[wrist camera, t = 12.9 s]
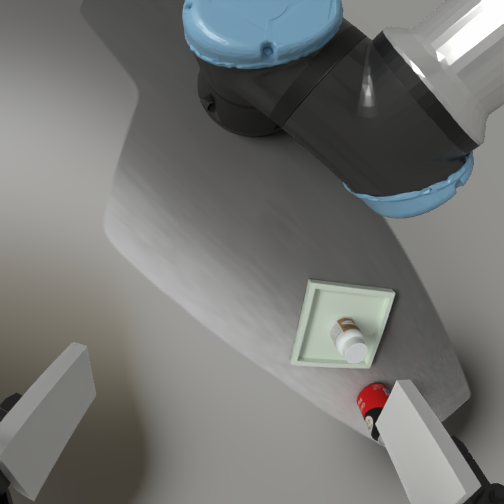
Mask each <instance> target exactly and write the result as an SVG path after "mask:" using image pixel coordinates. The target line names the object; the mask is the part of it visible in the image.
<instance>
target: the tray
mask: <svg viewBox="0 0 504 504" xmlns="http://www.w3.org/2000/svg"><path fill="white" fill-rule="evenodd" d="M394 296H395V292H394V291H393V290H391V289H387V288H379V287H371V286H363V285H355V284H347V283H339V282H331V281H323V280H316V279H308V284H307V288H306V293H305V297H304V302H303V306H302V311H301V315H300V319H299V323H298V327H297V332H296V336H295V340H294V344H293V348H292V352H291V356H290V362H291V365H299V366H315V367H334V368H370V366H371V364H372V361H373V358H374V356H375V353H376V350H377V348H378V345H379V342H380V339H381V337H382V334H383V331H384V328H385V325H386V322H387V319H388V316H389V313H390V309H391V306H392V303H393V300H394ZM339 317H349V318H351V319H352V320H353V321H354V322H355V323H356V325H357V326H358V328H359V329H360V330H361V332H362V333H363V335H364V337H365V344H366V345H367V347H368V354H367V356H366V358H365V359H364V360H363V361H361V362H359V363H356V364H352V363H349V362H347V361H346V359H345V357H344V356H342V355H341V354H339V352H338V351H337V349H336V347H335V345H334V343H333V341H332V339H331V337H330V334H329V328H330V325H331V324H332V322H333V321H334V320H335V319H337V318H339Z"/></svg>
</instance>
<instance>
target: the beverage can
mask: <svg viewBox="0 0 504 504" xmlns="http://www.w3.org/2000/svg"><path fill="white" fill-rule="evenodd" d="M389 396H390V392H389V391H388V389H387V387H386V386H385V385H383V384H380V383H376V384H371V385H369V386H367V387H365V388H364V389H363V390H362V391H361V392H360V393H359V395H358V398H357V404H358V406H359V409H360V411H361V413H362V415H363V418H364V420H365V422H366V424H367V427H368V429H369V431H370V433H371V436H372V438H373V439H374V440H376V441H378V442H379V444H381V445H385V444H384V442H383V440H382V437H381V435H380V433H379V431H378V429H377V427H376V424H375V423H376V422H377V420H378V418H379V416H380V414H381V412H382V410H383V408H384V406H385V404H386V402H387V400H388V398H389Z"/></svg>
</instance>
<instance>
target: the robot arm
mask: <svg viewBox="0 0 504 504" xmlns="http://www.w3.org/2000/svg"><path fill="white" fill-rule="evenodd" d="M183 24H184V29H185V38H186V41H187V43H188V46H190V48H191V50H192V51H193V52H194V55H195V57H196V59H197V61H198V63H199V65H200V71H199V75H198V94H199V98H200V101H201V103H202V105H203V107H204V109H205V110H206V112H207V113H208V115H209V116H210V117H211V118H212V120H213V121H215V122H216V123H217V124H218V125H219V126H221V127H222V128H224V129H226V130H228V131H230V132H232V133H235V134H238V135H243V136H252V137H257V136H266V135H270V134H274V133H276V132H279V131H281V130H284V131H286V132H287V133H288V134H289V135H290V136H292V137H293V138H294V139H295V140H296V141H298V142H299V143H300V144H301V145H302V146H304V147H305V148H306V149H307V150H308V151H309V152H311V153H312V154H313V155H314V156H315V157H316V158H317V159H319V160H320V161H321V162H322V163H323V164H324V165H325V166H326V167H328V168H329V169H330V170H331V171H332V172H333V173H334V174H335V175H336V176H337V177H338V178H339V179H341V180H342V181H343V184H344V186H345V187H346V189H347V190H348V191H349V192H350V193H352V194H354V195H355V196H357V197H359V198H360V199H361V200H363V201H364V202H365V203H366V204H367V205H368V206H369V207H370V208H371V209H372V210H374V211H375V212H377V213H379V214H381V215H383V216H386V217H390V218H409V217H414V216H418V215H421V214H424V213H426V212H429V211H431V210H433V209H435V208H437V207H439V206H440V205H442V204H443V203H445V202H446V201H448V200H449V199H450V198H452V197H453V196H454V195H455V194H456V189H455V188H457V187H459V186H463V185H464V184H465V183H466V181H467V180H468V178H469V177H470V175H471V172H472V169H473V165H474V159H473V152H472V150H473V149H475V148H477V147H478V146H480V145H481V144H483V142H484V137H485V128H486V121H487V118H488V116H489V114H491V113H492V112H494V111H495V110H496V109H498V108H499V107H501V106H502V105H503V104H504V0H445V1H444V2H443V3H442V4H441V5H440V6H439V7H438V8H436V9H435V10H434V11H433V12H432V13H431V14H430V15H429V16H427V17H426V18H425V19H424V20H423V21H422V22H421V23H420V24H418V26H416V27H413V28H398V27H397V28H396V27H386V28H384V29H383V30H382V31H381V32H380V34H378V35H377V36H376V37H375V38H374V40H371V39H370V38H368V37H367V36H366V35H364V34H363V33H362V32H361V31H360V30H358V29H357V28H356V27H355V26H353V25H352V24H351V23H350V22H348V21H347V20H346V19H344V18H343V8H342V2H341V0H185V3H184V6H183ZM95 396H96V391H95V386H94V381H93V376H92V370H91V365H90V359H89V352H88V346H85V345H81V344H78V343H75V342H72V343H71V344H70V345H69V346H68V347H67V349H66V350H65V351H64V352H63V353H62V354H61V355H60V356H59V357H58V358H57V359H56V360H55V361H54V362H53V363H52V364H51V365H50V366H49V368H48V369H47V370H46V371H45V372H44V373H43V374H42V375H41V376H40V377H39V378H38V380H37V381H36V382H35V383H34V384H33V385H32V386H31V387H30V388H29V390H28V391H27V392H26V393H25V394H24V395H23V396H22V395H20V394H18V393H15V394H14V395H11V396H10V397H8V398H6V399H5V400H4V401H3V402H2V403H1V405H0V504H13V501H12V498H11V493H10V491H9V489H8V487H9V485H10V483H11V484H12V486H13V487H14V488H15V489H16V490H17V491H18V492H19V493H21V494H23V495H24V496H26V497H28V498H29V499H31V500H33V501H34V500H35V498H36V497H37V495H38V493H39V491H40V489H41V487H42V485H43V484H44V482H45V480H46V478H47V476H48V474H49V473H50V471H51V469H52V467H53V466H54V464H55V462H56V460H57V459H58V457H59V455H60V454H61V452H62V450H63V448H64V447H65V445H66V443H67V442H68V440H69V438H70V437H71V435H72V433H73V432H74V430H75V428H76V427H77V425H78V423H79V422H80V420H81V418H82V417H83V415H84V414H85V412H86V410H87V409H88V407H89V405H90V404H91V402H92V401H93V399H94V398H95ZM375 424H376V427H377V429H378V431H379V433H380V435H381V437H382V440H383V442H384V444H385V446H386V448H387V450H388V453H389V455H390V457H391V459H392V462H393V464H394V466H395V468H396V471H397V473H398V475H399V477H400V480H401V482H402V484H403V487H404V489H405V491H406V494H407V496H408V498H409V501H410V503H411V504H504V486H503V485H501V484H498V483H494V484H490V483H489V481H488V480H487V479H486V477H485V475H484V474H483V472H482V471H481V469H480V468H479V466H478V465H477V463H476V462H475V460H474V459H473V457H472V456H471V454H470V453H468V450H467V448H466V447H465V445H464V444H463V443H462V442H461V441H460V440H459V439H457V438H456V437H455V436H452V437H450V436H449V434H448V433H447V431H446V430H445V428H444V427H443V426H442V424H441V422H440V421H439V420H438V418H437V417H436V415H435V414H434V412H433V411H432V409H431V408H430V407H429V405H428V404H427V402H426V401H425V399H424V398H423V397H422V395H421V394H420V392H419V391H418V390H417V388H416V387H415V385H414V384H413V383H412V381H411V380H397V381H396V383H395V385H394V387H393V389H392V392H391V394H390V396H389V398H388V400H387V402H386V404H385V406H384V408H383V410H382V412H381V414H380V416H379V418H378V420H377V422H376V423H375Z"/></svg>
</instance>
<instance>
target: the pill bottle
mask: <svg viewBox="0 0 504 504" xmlns="http://www.w3.org/2000/svg"><path fill="white" fill-rule="evenodd" d="M329 334H330V337H331V339H332V341H333V343H334V345H335V347H336V349H337V351H338V352H339V354H341V355H342V356H344V357H345V359H346V361H347V362H349V363H352V364H356V363H359V362H361V361H363V360H364V359H365V358H366V356H367V354H368V347H367V345H366V344H365V337H364V335H363V333H362V332H361V330H360V329H359V328H358V326H357V325H356V323H355V322H354V321H353V320H352V319H351V318H349V317H339V318H337V319H335V320H334V321H333V322H332V324H331V325H330V328H329Z"/></svg>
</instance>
